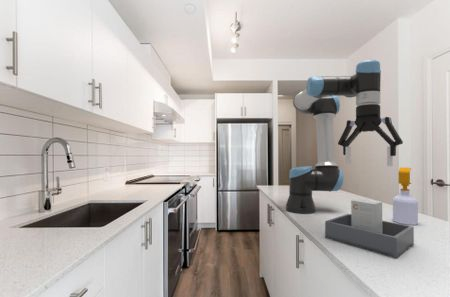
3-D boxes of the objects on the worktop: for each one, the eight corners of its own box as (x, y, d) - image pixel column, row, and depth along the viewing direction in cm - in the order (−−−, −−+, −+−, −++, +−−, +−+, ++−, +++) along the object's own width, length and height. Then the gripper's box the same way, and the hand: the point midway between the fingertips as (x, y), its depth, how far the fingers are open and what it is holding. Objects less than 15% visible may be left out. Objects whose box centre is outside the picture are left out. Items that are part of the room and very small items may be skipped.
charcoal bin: (325, 237, 88) (325, 221, 89) (347, 228, 100) (347, 213, 100) (396, 258, 71) (396, 238, 72) (413, 244, 83) (413, 226, 83)
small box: (382, 239, 85) (382, 201, 85) (375, 243, 81) (376, 203, 81) (358, 233, 91) (358, 198, 91) (350, 236, 87) (350, 200, 87)
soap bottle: (418, 222, 110) (418, 167, 110) (416, 226, 103) (416, 168, 104) (394, 218, 116) (394, 166, 116) (391, 222, 109) (391, 167, 110)
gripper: (328, 108, 94) (328, 163, 94) (407, 98, 75) (407, 167, 75) (338, 110, 99) (337, 163, 99) (414, 101, 80) (413, 166, 79)
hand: (367, 165), depth 87 cm, fingers open, 13 cm apart
